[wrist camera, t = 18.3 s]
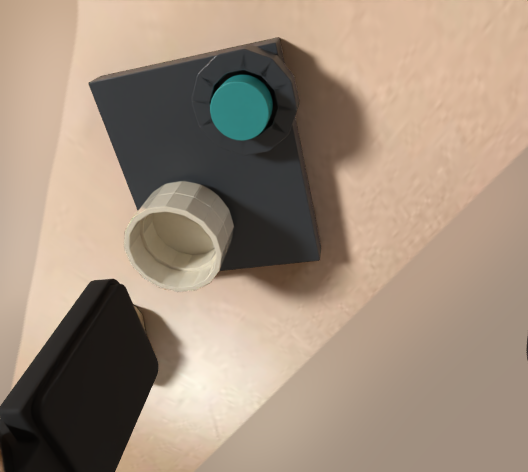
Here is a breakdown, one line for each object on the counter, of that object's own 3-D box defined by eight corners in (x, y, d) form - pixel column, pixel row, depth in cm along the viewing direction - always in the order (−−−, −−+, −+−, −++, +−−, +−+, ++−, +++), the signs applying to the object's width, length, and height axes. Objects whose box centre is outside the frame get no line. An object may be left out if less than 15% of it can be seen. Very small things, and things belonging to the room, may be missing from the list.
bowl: (134, 185, 37) (109, 214, 33) (221, 172, 35) (205, 200, 32) (163, 261, 40) (143, 295, 36) (244, 252, 39) (232, 287, 35)
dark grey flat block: (98, 72, 35) (75, 85, 32) (290, 30, 32) (283, 40, 29) (170, 264, 43) (156, 288, 40) (330, 246, 39) (328, 271, 36)
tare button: (209, 80, 31) (202, 87, 29) (265, 69, 30) (261, 75, 29) (224, 135, 33) (218, 145, 31) (278, 126, 32) (274, 135, 30)
